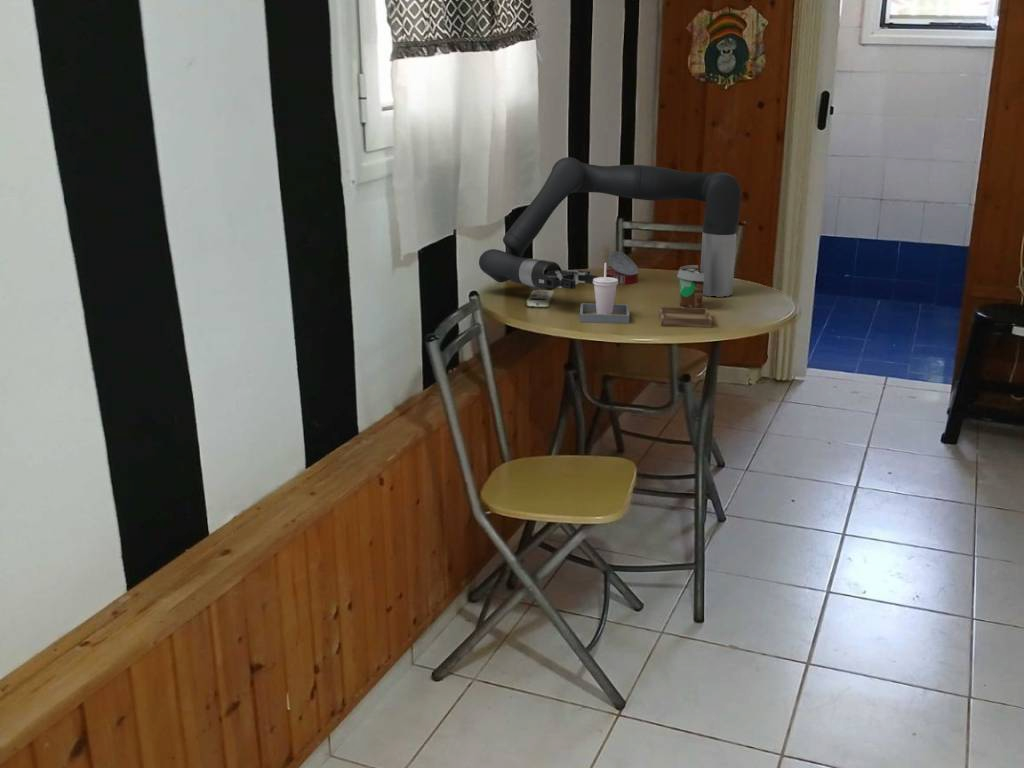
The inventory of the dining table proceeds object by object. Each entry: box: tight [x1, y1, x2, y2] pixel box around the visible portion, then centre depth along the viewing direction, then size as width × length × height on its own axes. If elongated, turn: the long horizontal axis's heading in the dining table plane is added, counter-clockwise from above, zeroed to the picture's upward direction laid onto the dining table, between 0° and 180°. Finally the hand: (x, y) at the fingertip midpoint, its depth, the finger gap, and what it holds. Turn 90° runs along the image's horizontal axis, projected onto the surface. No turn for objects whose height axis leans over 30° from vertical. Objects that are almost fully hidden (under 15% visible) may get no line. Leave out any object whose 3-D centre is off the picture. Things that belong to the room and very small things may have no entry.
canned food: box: [606, 250, 639, 286], centre depth 307 cm, size 11×10×10 cm
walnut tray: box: [658, 306, 713, 328], centre depth 261 cm, size 12×12×2 cm
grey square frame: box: [579, 302, 630, 324], centre depth 264 cm, size 12×12×2 cm
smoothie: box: [592, 262, 618, 314], centre depth 263 cm, size 6×6×14 cm
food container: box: [676, 264, 704, 308], centre depth 276 cm, size 12×6×10 cm, turn 178°
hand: (585, 282), depth 267 cm, fingers open, 8 cm apart
